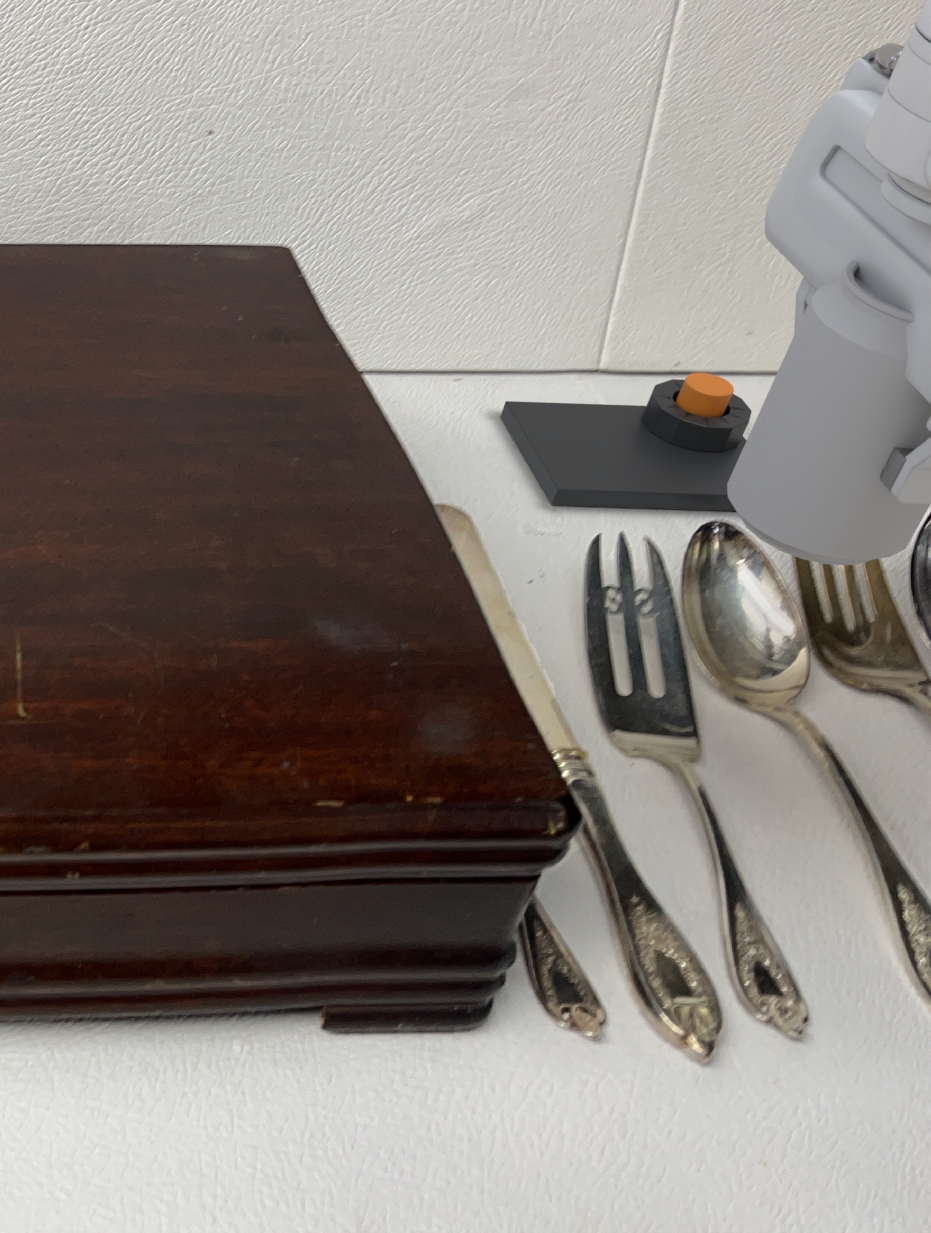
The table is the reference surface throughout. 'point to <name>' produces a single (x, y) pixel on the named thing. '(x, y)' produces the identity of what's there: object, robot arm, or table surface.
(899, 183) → the robot arm
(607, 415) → the black flat block
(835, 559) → the can
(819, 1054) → the table surface
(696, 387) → the button
